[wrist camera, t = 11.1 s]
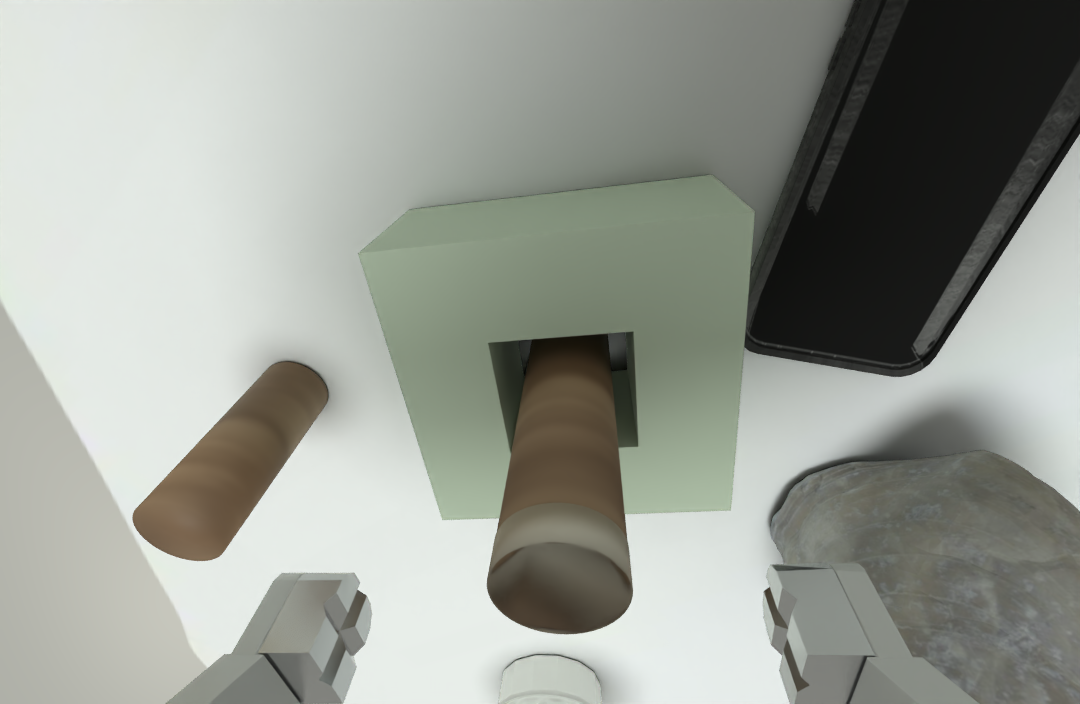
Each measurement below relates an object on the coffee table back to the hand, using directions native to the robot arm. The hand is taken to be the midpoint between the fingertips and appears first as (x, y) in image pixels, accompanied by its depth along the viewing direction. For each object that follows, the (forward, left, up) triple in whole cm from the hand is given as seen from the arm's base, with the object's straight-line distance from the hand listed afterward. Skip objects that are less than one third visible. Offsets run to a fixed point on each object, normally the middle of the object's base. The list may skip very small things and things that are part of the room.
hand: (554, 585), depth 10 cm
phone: (-4, +12, -13) cm, 18 cm away
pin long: (+1, 0, -12) cm, 12 cm away
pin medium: (+3, -13, -12) cm, 18 cm away
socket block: (+1, 0, -12) cm, 12 cm away
